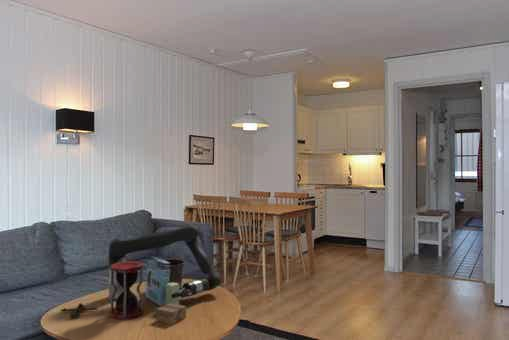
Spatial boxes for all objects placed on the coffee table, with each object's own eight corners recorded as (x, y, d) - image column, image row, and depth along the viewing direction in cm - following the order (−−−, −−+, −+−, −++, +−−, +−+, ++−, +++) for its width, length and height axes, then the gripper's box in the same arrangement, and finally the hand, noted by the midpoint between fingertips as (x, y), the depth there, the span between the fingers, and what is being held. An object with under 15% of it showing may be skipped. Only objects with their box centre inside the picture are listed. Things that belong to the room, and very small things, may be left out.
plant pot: (171, 293, 244) (171, 266, 244) (152, 289, 253) (152, 262, 252) (190, 287, 257) (190, 261, 257) (171, 283, 266) (171, 258, 266)
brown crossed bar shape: (54, 314, 201) (63, 301, 215) (54, 322, 202) (63, 309, 216) (93, 312, 204) (99, 300, 218) (93, 320, 204) (99, 308, 218)
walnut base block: (172, 324, 196) (172, 312, 196) (156, 321, 201) (156, 308, 201) (185, 318, 205) (185, 306, 205) (170, 314, 210) (170, 302, 210)
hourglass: (107, 320, 201) (107, 269, 201) (113, 309, 217) (113, 261, 216) (141, 318, 203) (141, 268, 203) (144, 307, 219) (145, 260, 219)
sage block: (171, 308, 216) (172, 285, 216) (165, 306, 219) (165, 284, 219) (179, 306, 220) (179, 283, 220) (172, 304, 223) (173, 282, 223)
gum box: (145, 297, 236) (147, 256, 237) (153, 295, 239) (155, 256, 240) (159, 306, 221) (162, 263, 221) (168, 305, 224) (170, 262, 224)
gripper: (184, 279, 235) (159, 285, 222) (201, 283, 226) (177, 290, 213) (183, 292, 235) (159, 299, 222) (201, 297, 226) (177, 305, 213)
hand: (168, 295), depth 217 cm, fingers closed on sage block, 5 cm apart
